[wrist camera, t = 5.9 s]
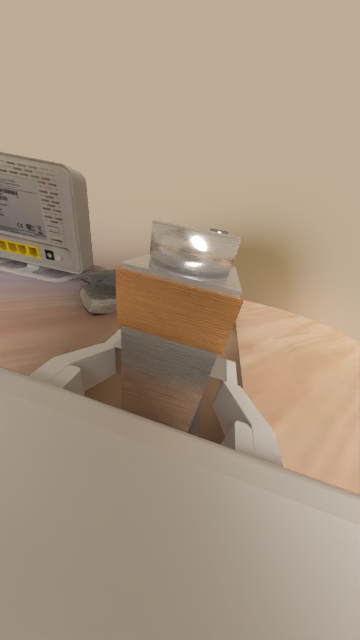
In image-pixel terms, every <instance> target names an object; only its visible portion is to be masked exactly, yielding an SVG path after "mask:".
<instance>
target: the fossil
mask: <svg viewBox="0 0 360 640" xmlns="http://www.w3.org/2000/svg"><path fill="white" fill-rule="evenodd" d="M78 278H80V279H81V280H83V281H85V282H87V283H89V284H88V285H86V286H83V287H81V292H80V293H79V294H80V297H81V299H82V301H83V306H84V307H86V308H87V309H88V311H89V312H90V313H91V314H95V315H96V314H109V313H113V312H116V269H114V270H105V271H100V272H89V273H82V274H80V275H78Z"/></svg>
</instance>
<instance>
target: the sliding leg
mask: <svg viewBox="0 0 360 640" xmlns="http://www.w3.org/2000/svg"><path fill="white" fill-rule="evenodd" d="M240 242H241V238H239V237H235V236H232V235H227V234H223V233H218V232H214V231H209V230H204V229H199V228H195V227H190V226H185V225H179V224H174V223H169V222H163V221H157V220H153V223H152V235H151V247H150V253H148V254H145V255H141V256H138V257H135V258H132V259H129V260H125V261H122V262H121V263H120V267H119V268H116V312H117V325H120V326H121V409H122V410H124V411H127V412H130V413H133V414H136V415H138V416H141V417H144V418H147V419H150V420H152V421H155V422H158V423H161V424H164V425H166V426H169V427H172V428H175V429H178V430H181V431H183V432H186V433H188V430H189V428H190V425H191V423H192V420H193V417H194V415H195V412H196V410H197V407H198V405H199V402H200V399H201V397H202V394H203V392H204V389H205V386H206V384H207V381H208V379H209V376H210V374H211V371H212V368H213V366H214V363H215V361H216V358H217V356H218V355H222V353H223V351H224V348H225V346H226V343H227V341H228V338H229V336H230V333H231V331H232V328H233V326H234V323H235V321H236V318H237V316H238V313H239V311H240V308H241V306H242V304H243V297H242V289H241V286H240V282H239V278H238V275H237V271H236V268H235V266H233V263H234V260H235V257H236V254H237V251H238V248H239V245H240Z"/></svg>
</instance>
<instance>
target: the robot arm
mask: <svg viewBox="0 0 360 640" xmlns="http://www.w3.org/2000/svg"><path fill="white" fill-rule="evenodd" d="M116 373H119V374H121V329H119V330H118V331H117V332H116V333H114V334H113V335H112V336H111V337H110V338H109V339H108V340H107V341H106V342H105V343H104V344H103V343H99V344H96V345H93V346H89V347H86V348H83V349H79V350H76V351H73V352H69V353H66V354H63V355H59V356H56V357H53V358H51V359H50V360H48V361H47V362H46V363H44V364H43V365H42V366H40V367H39V368H38V369H36V370H35V371H34V372H32V373H31V374H29V375H28V376H26V375H24V374H21V373H18V372H15V371H12V370H10V369H7V368H4V367H1V366H0V640H360V494H357V493H354V492H352V491H349V490H346V489H343V488H340V487H338V486H335V485H332V484H329V483H326V482H324V481H321V480H318V479H315V478H312V477H310V476H307V475H304V474H301V473H298V472H296V471H293V470H290V469H287V468H284V467H283V465H282V461H281V457H280V453H279V449H278V444H277V440H276V436H275V432H274V431H273V430H272V428H271V427H270V426H269V424H268V423H267V422H266V420H265V419H264V417H263V416H262V415H261V413H260V412H259V411H258V409H257V408H256V407H255V405H254V404H253V403H252V401H251V400H250V399H249V397H248V396H247V394H246V393H245V392H244V390H243V389H242V388H241V386H238V384H237V372H236V363H235V362H234V361H231V360H227V359H223V358H219V357H217V358H216V361H215V363H214V366H213V368H212V371H211V374H210V376H209V379H208V381H207V384H206V386H205V389H204V392H203V394H202V397H201V399H200V400H202V401H204V402H207V403H210V404H213V405H212V406H213V408H214V410H215V413H216V415H217V418H218V420H219V422H220V425H221V427H222V430H223V432H224V434H225V438H224V440H223V442H222V443H221V445H220V444H217V443H214V442H211V441H209V440H206V439H203V438H200V437H197V436H195V435H192V434H189V433H186V432H183V431H181V430H178V429H175V428H172V427H169V426H166V425H164V424H161V423H158V422H155V421H152V420H150V419H147V418H144V417H141V416H138V415H136V414H133V413H130V412H127V411H124V410H122V409H119V408H116V407H113V406H110V405H108V404H105V403H102V402H99V401H96V400H94V399H91V398H88V397H85V393H84V391H86V390H88V389H90V388H91V387H93V386H95V385H97V384H98V383H100V382H102V381H104V380H105V379H107V378H109V377H111V376H112V375H114V374H116Z"/></svg>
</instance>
